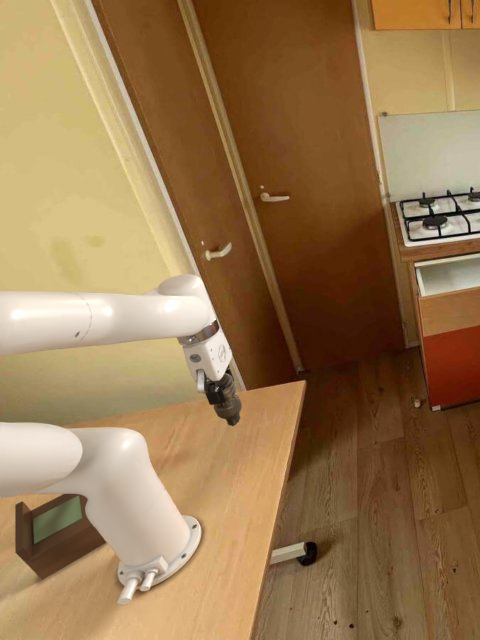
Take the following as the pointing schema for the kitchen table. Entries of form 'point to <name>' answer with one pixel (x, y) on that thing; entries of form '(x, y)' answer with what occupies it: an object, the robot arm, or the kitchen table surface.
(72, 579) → the kitchen table surface
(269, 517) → the kitchen table surface
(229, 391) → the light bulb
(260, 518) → the kitchen table surface
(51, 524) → the brown piece
